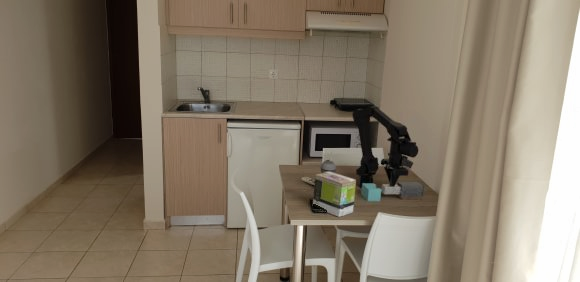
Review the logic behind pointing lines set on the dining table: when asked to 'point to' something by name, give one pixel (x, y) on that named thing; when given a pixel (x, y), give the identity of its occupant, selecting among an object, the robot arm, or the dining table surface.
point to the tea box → (334, 193)
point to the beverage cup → (328, 166)
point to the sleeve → (411, 190)
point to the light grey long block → (391, 188)
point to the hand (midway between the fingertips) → (392, 184)
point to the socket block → (370, 192)
